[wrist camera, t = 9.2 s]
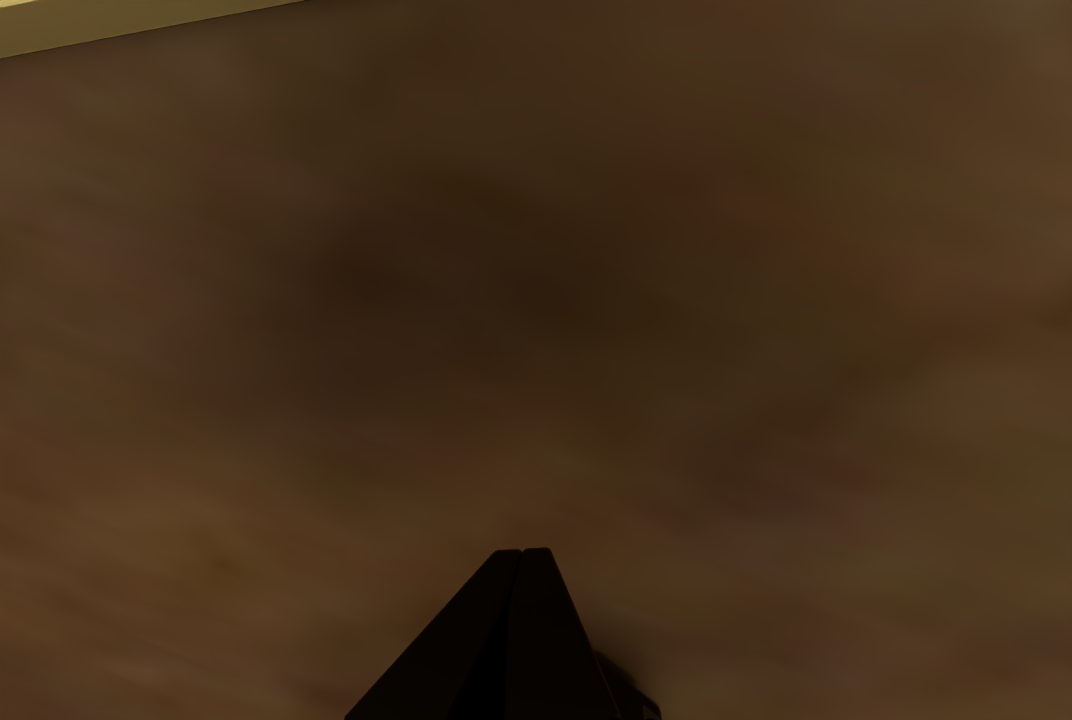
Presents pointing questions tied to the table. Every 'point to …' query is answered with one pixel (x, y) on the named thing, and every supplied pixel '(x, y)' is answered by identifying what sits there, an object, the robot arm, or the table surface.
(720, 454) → the table surface
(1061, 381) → the table surface
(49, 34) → the cream lever base
